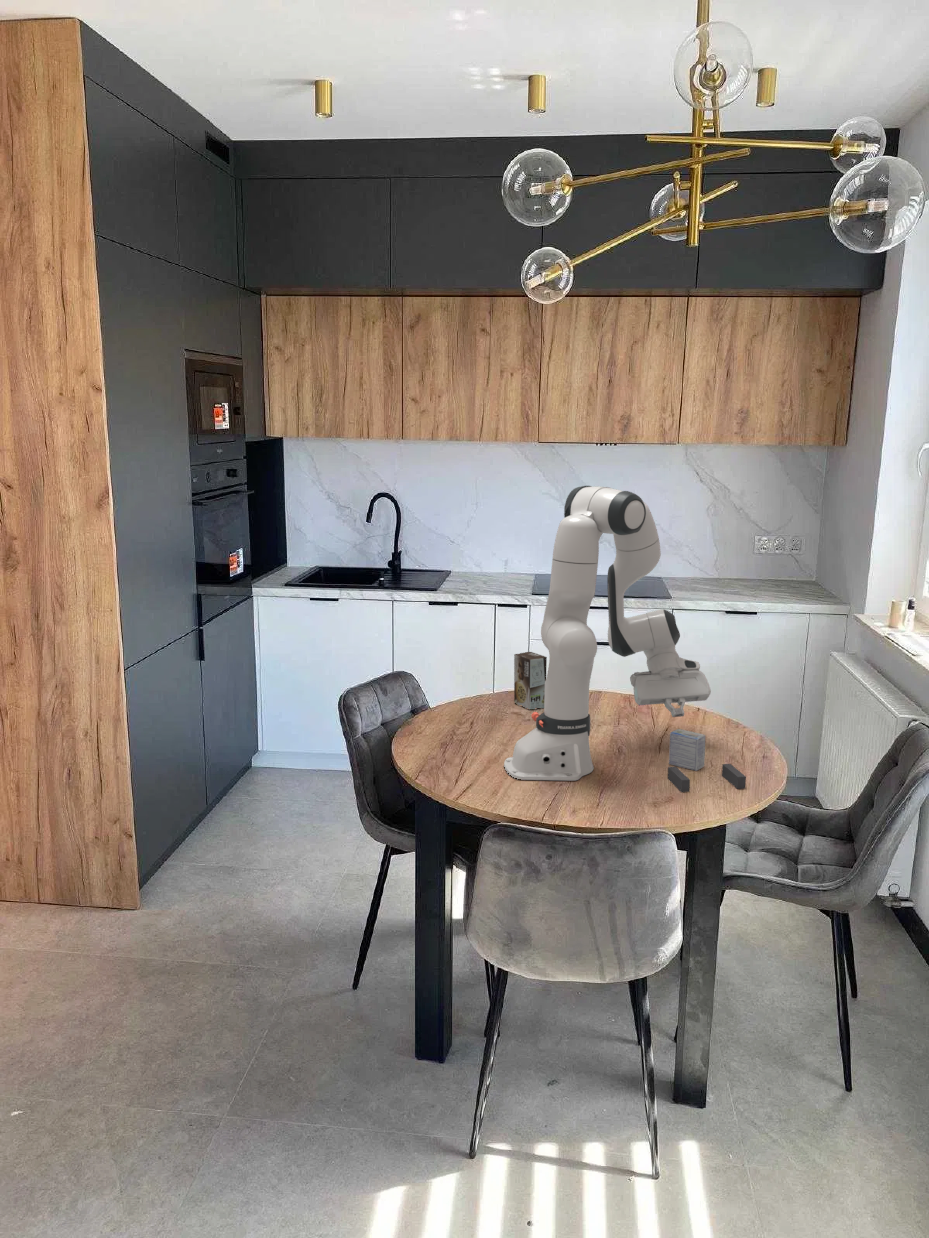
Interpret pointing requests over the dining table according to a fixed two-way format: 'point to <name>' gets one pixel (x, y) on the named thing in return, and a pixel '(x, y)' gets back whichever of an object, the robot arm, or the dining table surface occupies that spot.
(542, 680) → the coffee box
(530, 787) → the dining table surface
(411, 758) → the dining table surface
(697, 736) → the medicine box
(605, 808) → the dining table surface
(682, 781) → the grey blocks
